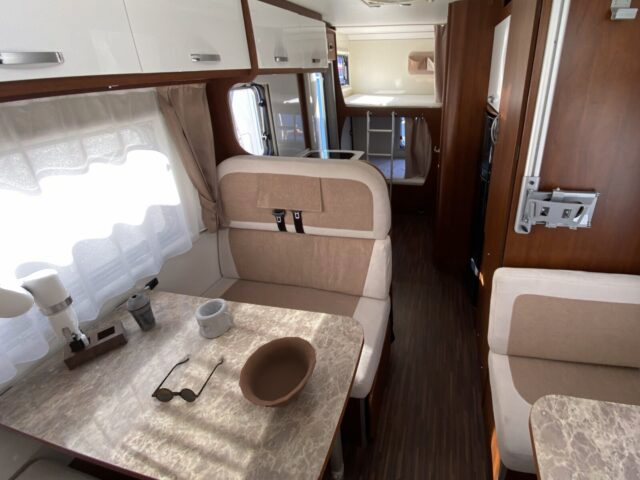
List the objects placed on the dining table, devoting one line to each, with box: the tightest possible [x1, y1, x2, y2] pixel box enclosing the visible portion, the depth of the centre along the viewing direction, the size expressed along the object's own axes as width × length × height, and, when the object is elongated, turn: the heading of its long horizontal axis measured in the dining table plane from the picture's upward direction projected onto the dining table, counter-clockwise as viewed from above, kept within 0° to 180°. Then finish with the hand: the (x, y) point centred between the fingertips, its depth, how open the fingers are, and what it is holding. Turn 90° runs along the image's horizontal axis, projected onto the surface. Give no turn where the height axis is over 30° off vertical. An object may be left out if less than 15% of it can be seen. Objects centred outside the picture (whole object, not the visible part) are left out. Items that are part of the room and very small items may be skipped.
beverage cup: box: [126, 283, 157, 332], centre depth 116 cm, size 7×7×20 cm
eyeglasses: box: [151, 357, 224, 403], centre depth 97 cm, size 15×15×5 cm
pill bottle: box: [71, 329, 90, 347], centre depth 106 cm, size 4×4×8 cm
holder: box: [62, 319, 128, 371], centre depth 110 cm, size 16×9×5 cm, turn 133°
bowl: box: [238, 336, 317, 409], centre depth 91 cm, size 22×22×11 cm
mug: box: [194, 298, 235, 339], centre depth 116 cm, size 14×11×10 cm
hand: (79, 344), depth 106 cm, fingers closed on pill bottle, 4 cm apart
